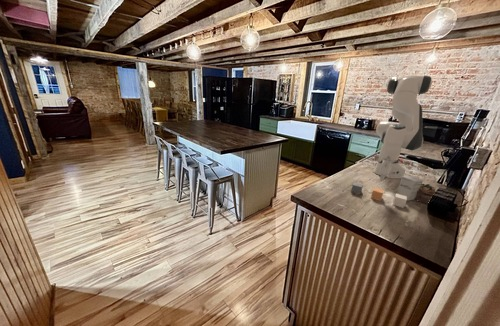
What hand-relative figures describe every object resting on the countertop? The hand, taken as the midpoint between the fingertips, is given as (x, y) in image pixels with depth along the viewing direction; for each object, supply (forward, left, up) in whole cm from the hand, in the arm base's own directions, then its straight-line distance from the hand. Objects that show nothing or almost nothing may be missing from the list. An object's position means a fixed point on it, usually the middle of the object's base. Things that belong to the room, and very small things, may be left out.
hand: (382, 178), depth 114 cm
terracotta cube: (0, 0, -13) cm, 13 cm away
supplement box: (-19, -4, -13) cm, 23 cm away
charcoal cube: (+9, -6, -13) cm, 17 cm away
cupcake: (-27, -1, -13) cm, 30 cm away
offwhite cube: (-9, +6, -13) cm, 17 cm away
